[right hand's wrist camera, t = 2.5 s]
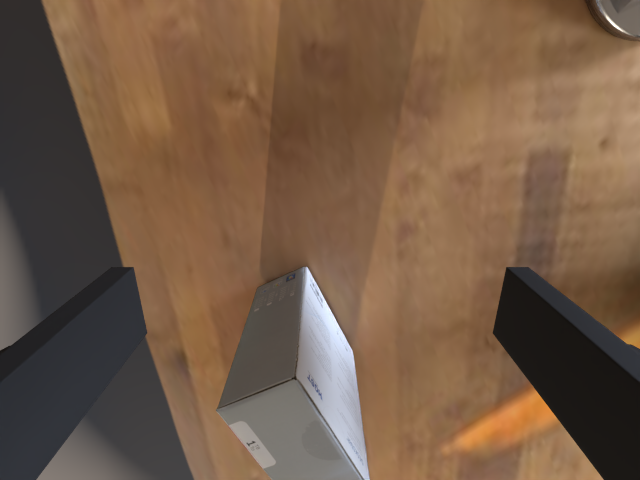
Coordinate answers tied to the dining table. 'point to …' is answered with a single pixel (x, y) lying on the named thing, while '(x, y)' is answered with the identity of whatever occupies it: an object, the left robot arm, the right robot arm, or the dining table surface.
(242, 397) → the hard drive box
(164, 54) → the dining table surface
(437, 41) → the dining table surface
